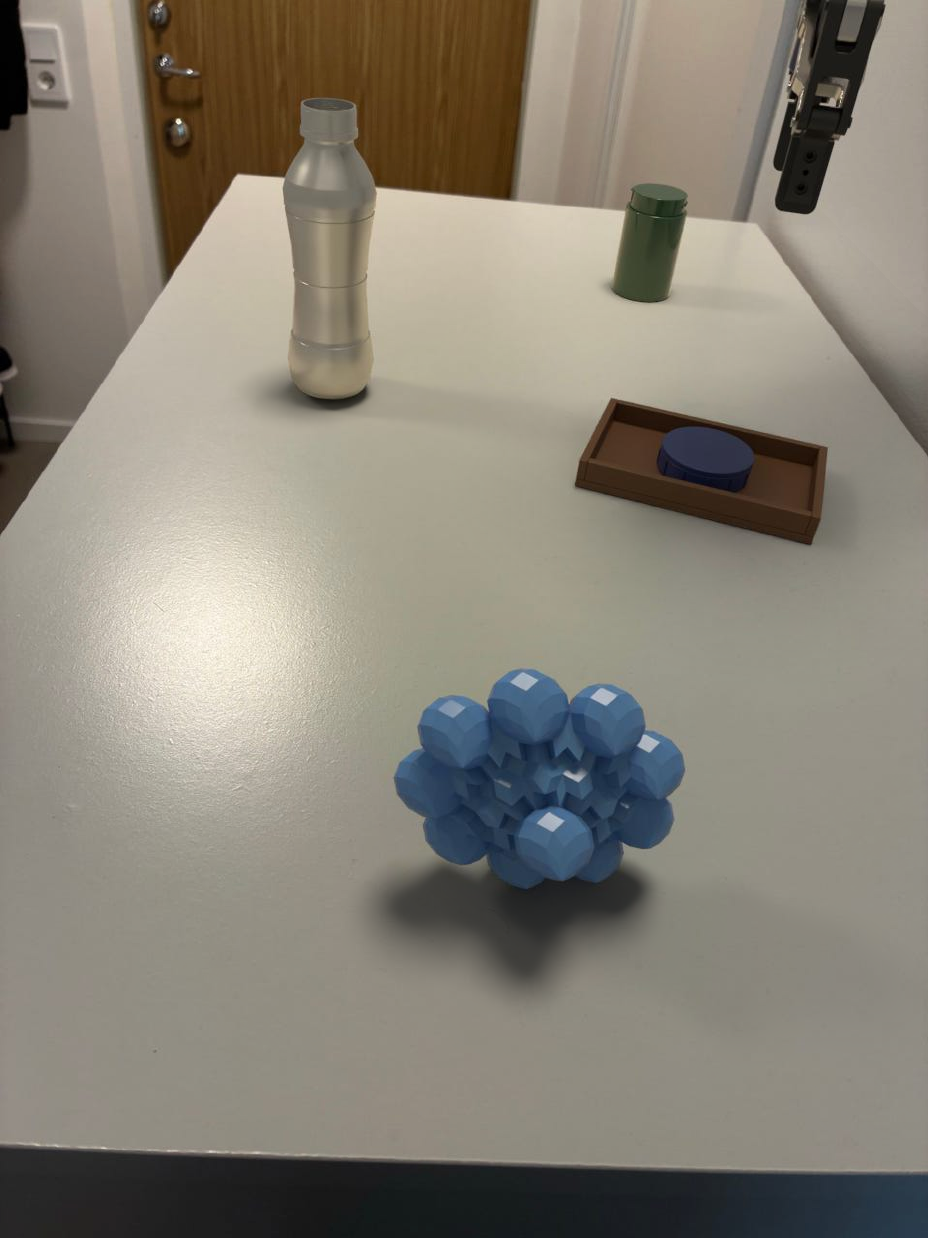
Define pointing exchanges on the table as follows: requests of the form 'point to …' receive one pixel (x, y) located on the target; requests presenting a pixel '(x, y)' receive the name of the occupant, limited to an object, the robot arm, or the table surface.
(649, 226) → the jam jar
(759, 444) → the serving tray
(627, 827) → the blue ball cluster
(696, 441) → the jar lid
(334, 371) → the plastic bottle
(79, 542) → the table surface
